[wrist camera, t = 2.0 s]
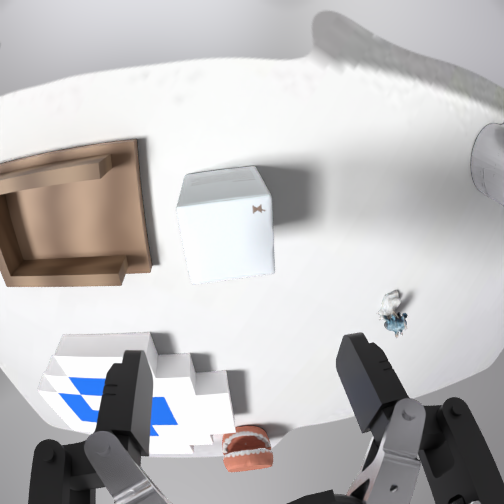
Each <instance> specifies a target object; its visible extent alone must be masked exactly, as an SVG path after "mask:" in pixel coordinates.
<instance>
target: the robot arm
mask: <svg viewBox="0 0 504 504" xmlns="http://www.w3.org/2000/svg"><path fill="white" fill-rule="evenodd" d="M471 172H472V178H473V181H474V184H475V186H476V187H477V189H478V190H479V191H480V192H482V193H483V194H485V195H487V196H488V197H490V198H492V199H493V200H495V201H497V202H498V203H500V204H501V205H503V206H504V123H503V124H502V125H499V124H496V123H492V124H489V125H487V126H486V127H485V128H483V129H482V131H481V132H480V133H479V135H478V137H477V139H476V141H475V144H474V147H473V152H472V158H471ZM336 369H337V372H338V375H339V377H340V379H341V382H342V384H343V387H344V389H345V392H346V394H347V396H348V399H349V401H350V404H351V406H352V409H353V411H354V414H355V416H356V418H357V421H358V424H359V426H360V429H361V431H362V433H365V432H368V431H371V432H372V434H373V437H372V439H371V441H370V444H369V447H368V449H367V452H366V455H365V457H364V460H363V463H362V465H361V468H360V470H359V472H358V475H357V476H356V478H355V479H354V481H353V483H352V484H351V486H350V488H349V490H348V492H347V494H346V495H342V494H334V493H333V490H328V491H325V492H321V493H316V494H311V495H307V496H304V497H301V498H299V499H297V500H295V501H292V502H290V503H287V504H410V501H411V498H412V495H413V491H414V488H415V485H416V481H417V478H418V474H419V470H420V465H421V463H422V466H423V468H424V471H425V474H426V477H427V480H428V482H429V485H430V488H431V491H432V494H433V497H434V500H435V503H436V504H504V483H503V480H502V478H501V476H500V473H499V471H498V468H497V466H496V463H495V461H494V459H493V457H492V454H491V452H490V450H489V448H488V446H487V444H486V441H485V439H484V437H483V435H482V433H481V431H480V429H479V427H478V425H477V423H476V421H475V419H474V417H473V415H472V413H471V411H470V409H469V408H468V405H467V404H466V403H465V402H464V401H463V400H462V399H460V398H456V397H452V398H449V399H447V400H446V401H445V402H444V403H443V405H437V406H423V405H422V404H421V403H420V402H419V401H417V400H415V399H411V398H409V396H408V395H407V393H406V391H405V389H404V388H403V386H402V384H401V382H400V380H399V378H398V377H397V375H396V373H395V371H394V369H392V366H391V364H390V362H388V359H387V357H386V355H385V353H384V352H383V350H382V349H381V348H380V347H378V346H377V345H376V344H375V343H368V341H367V339H366V337H365V335H364V334H363V333H354V334H348V335H344V336H343V339H342V342H341V345H340V348H339V352H338V355H337V358H336ZM104 385H105V386H104V388H103V395H102V397H101V402H100V408H99V413H98V418H97V424H96V429H95V431H94V433H93V434H91V435H90V436H89V437H88V438H87V440H85V441H83V442H80V443H75V444H68V445H61V444H59V443H58V442H57V441H55V440H51V439H47V440H44V441H41V442H40V443H39V444H38V445H37V446H36V449H35V451H34V456H33V463H32V471H31V479H30V489H29V500H28V504H95V493H96V488H101V487H106V488H107V490H108V491H109V493H110V494H111V495H112V497H113V499H114V501H115V502H114V503H115V504H172V503H171V502H170V501H169V500H168V499H167V498H166V497H165V495H164V494H163V493H162V492H161V491H160V490H159V488H158V487H157V486H156V485H155V484H154V483H153V481H152V480H151V479H150V478H149V476H148V475H147V474H146V473H145V471H144V470H143V469H142V468H141V465H140V464H141V456H149V443H150V425H151V410H152V398H153V375H152V372H151V369H150V366H149V363H148V360H147V357H146V354H145V352H144V350H125V352H124V355H123V360H122V363H113V365H112V366H111V368H110V369H109V370H108V372H107V374H106V379H105V383H104ZM417 455H419V458H420V460H421V462H420V460H418V459H417Z"/></svg>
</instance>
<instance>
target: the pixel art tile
mask: <svg viewBox="0 0 504 504" xmlns="http://www.w3.org/2000/svg"><path fill="white" fill-rule="evenodd" d="M125 350H144V352H145V354H146V357H147V360H148V363H149V366H150V369H151V372H152V375H153V398H152V410H151V425H150V443H149V453H151V454H193V453H194V445H208V444H213V435H214V434H227V433H236V429H235V421H234V413H233V407H232V402H231V396H230V390H229V384H228V378H227V372H226V370H222V371H210V372H197V373H195V369H194V365H193V362H192V358H191V355H190V353H184V354H167V355H158V353H157V350H156V348H155V345H154V342H153V339H152V337H151V334H150V332H144V333H121V334H69V335H65V334H63V335H62V337H61V340H60V342H59V344H58V347H57V349H56V352H55V354H54V355H52V356H51V359H50V361H49V364H48V367H47V369H46V372H44V373H43V375H42V378H41V381H40V383H39V386H38V389H37V391H38V392H39V393H40V394H41V395H42V397H43V398H44V399H45V400H46V401H47V403H48V404H49V405H50V406H51V407H52V408H53V409H54V410H55V412H56V413H57V414H58V415H59V416H60V417H61V418H62V419H63V420H64V421H65V422H66V423H67V424H68V426H69V427H70V428H71V429H72V430H76V431H84V432H92V433H94V431H95V429H96V424H97V418H98V413H99V408H100V402H101V397H102V395H103V388H104V386H105V385H104V383H105V379H106V374H107V372H108V370H109V369H110V368H111V366H112V365H113V363H122V360H123V355H124V352H125Z"/></svg>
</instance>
